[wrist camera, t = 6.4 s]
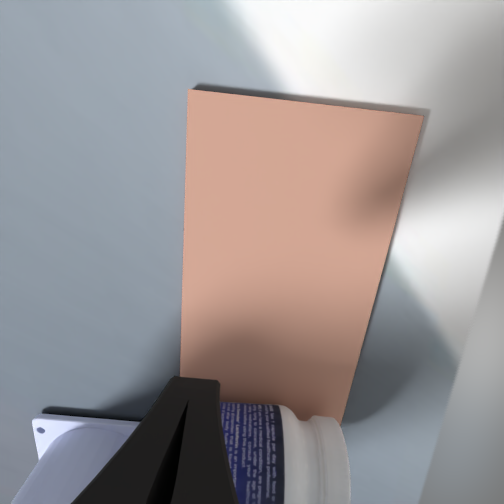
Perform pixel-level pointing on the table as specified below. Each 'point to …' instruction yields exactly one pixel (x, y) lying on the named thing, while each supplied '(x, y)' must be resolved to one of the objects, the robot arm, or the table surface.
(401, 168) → the mat
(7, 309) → the table surface
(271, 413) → the pill bottle
